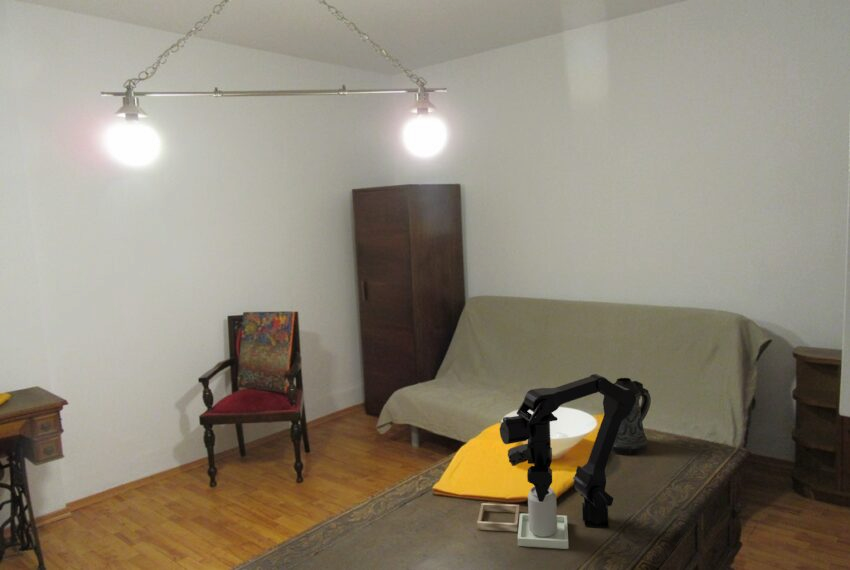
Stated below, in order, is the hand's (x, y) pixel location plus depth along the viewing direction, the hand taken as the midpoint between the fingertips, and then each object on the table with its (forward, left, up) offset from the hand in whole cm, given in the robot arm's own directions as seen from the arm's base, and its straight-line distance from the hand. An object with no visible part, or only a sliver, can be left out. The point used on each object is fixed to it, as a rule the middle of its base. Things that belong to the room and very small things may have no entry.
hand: (541, 493), depth 159 cm
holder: (+12, -6, -12) cm, 18 cm away
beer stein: (-29, -63, -12) cm, 70 cm away
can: (0, 0, -11) cm, 11 cm away
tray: (0, 0, -12) cm, 12 cm away
